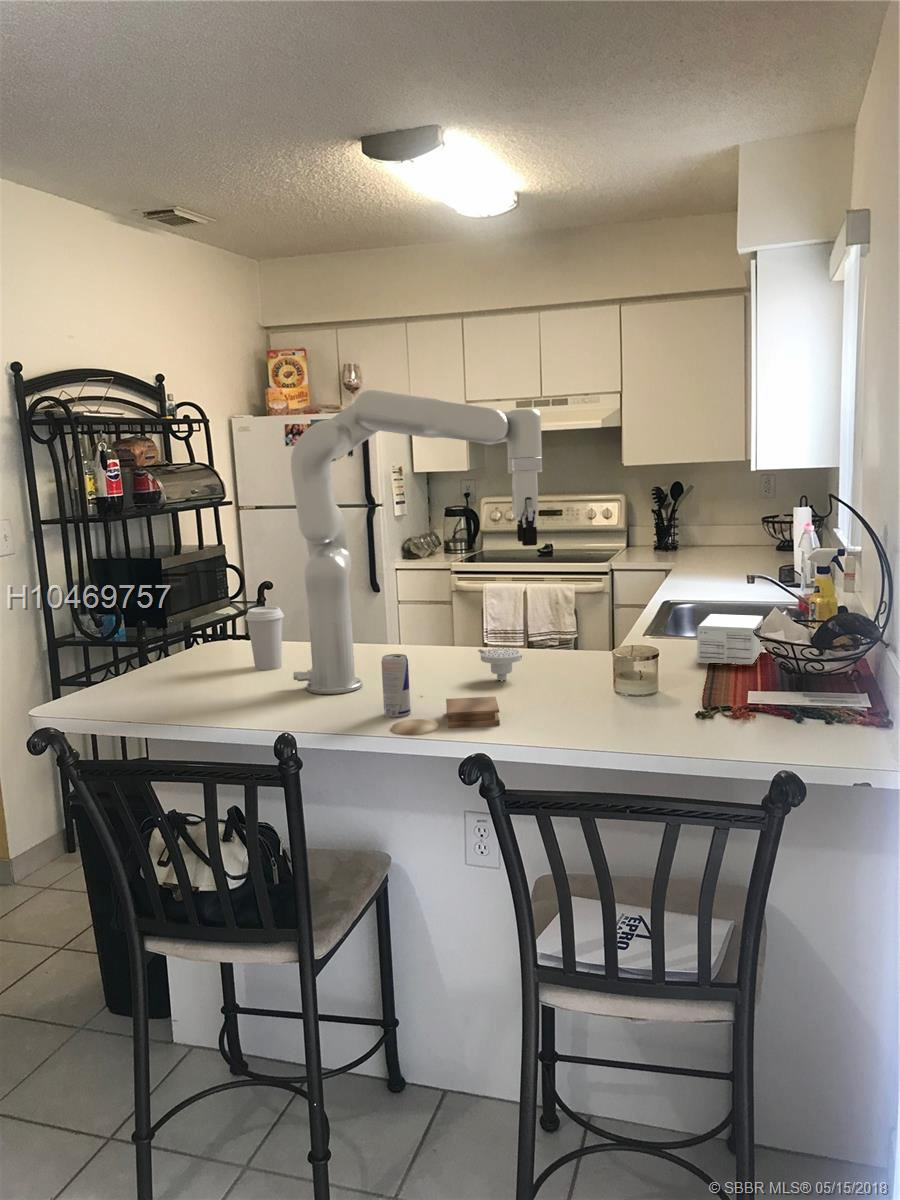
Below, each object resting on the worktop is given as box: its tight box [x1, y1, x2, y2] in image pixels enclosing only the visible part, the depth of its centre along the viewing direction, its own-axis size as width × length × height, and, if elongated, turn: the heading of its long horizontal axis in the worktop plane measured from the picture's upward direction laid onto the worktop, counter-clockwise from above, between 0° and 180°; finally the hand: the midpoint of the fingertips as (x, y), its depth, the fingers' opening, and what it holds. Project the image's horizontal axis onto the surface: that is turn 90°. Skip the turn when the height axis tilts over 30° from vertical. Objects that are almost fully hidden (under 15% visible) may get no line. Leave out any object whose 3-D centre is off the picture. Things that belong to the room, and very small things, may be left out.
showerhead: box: [477, 647, 523, 681], centre depth 215 cm, size 9×7×10 cm
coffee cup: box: [244, 605, 285, 671], centre depth 237 cm, size 10×10×15 cm
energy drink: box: [380, 653, 412, 718], centre depth 190 cm, size 5×5×12 cm
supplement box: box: [696, 613, 764, 665], centre depth 228 cm, size 17×13×9 cm
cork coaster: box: [391, 718, 440, 736], centre depth 182 cm, size 9×9×1 cm
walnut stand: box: [445, 696, 501, 729], centre depth 186 cm, size 10×10×3 cm
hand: (527, 543), depth 211 cm, fingers open, 9 cm apart
